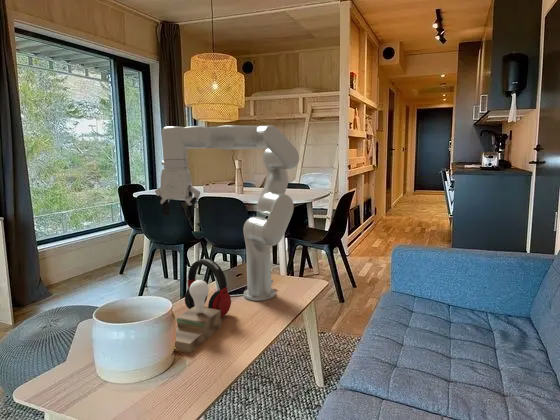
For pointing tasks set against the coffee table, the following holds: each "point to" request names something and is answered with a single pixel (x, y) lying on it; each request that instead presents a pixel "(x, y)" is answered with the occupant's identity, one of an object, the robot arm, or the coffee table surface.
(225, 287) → the headphones
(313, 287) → the coffee table surface
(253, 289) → the robot arm
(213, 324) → the stand
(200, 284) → the lightbulb
